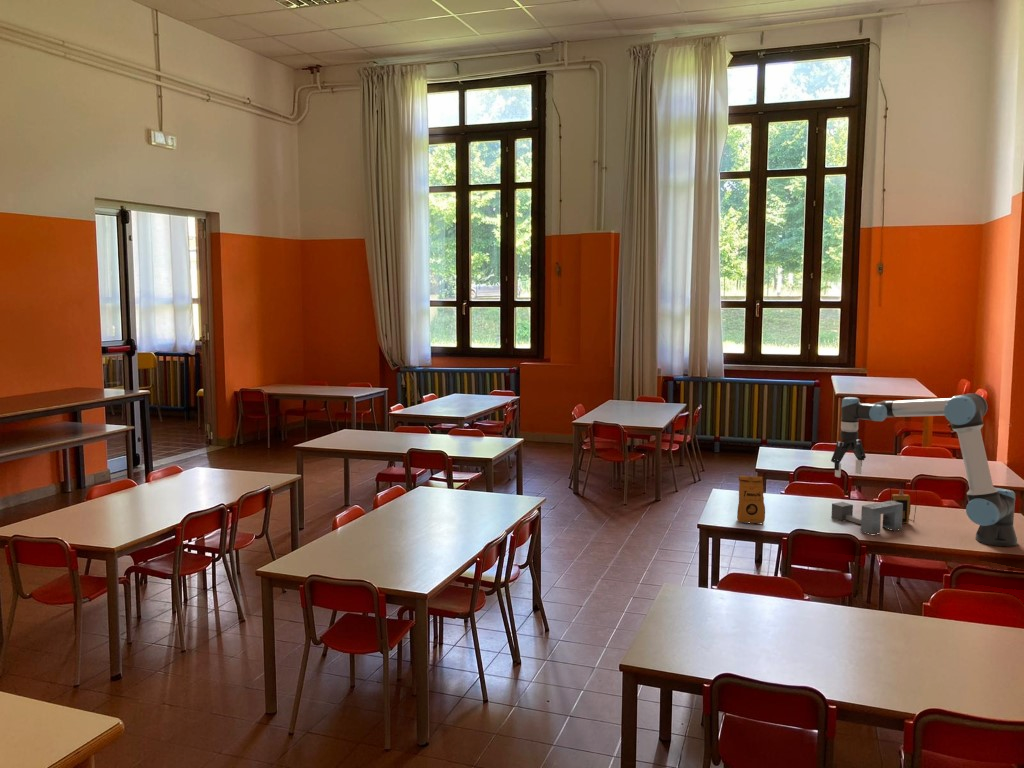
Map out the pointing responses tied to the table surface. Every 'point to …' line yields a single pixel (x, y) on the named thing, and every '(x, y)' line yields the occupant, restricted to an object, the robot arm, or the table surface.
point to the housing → (873, 516)
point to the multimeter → (906, 503)
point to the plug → (844, 512)
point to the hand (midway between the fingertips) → (848, 475)
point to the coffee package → (751, 500)
